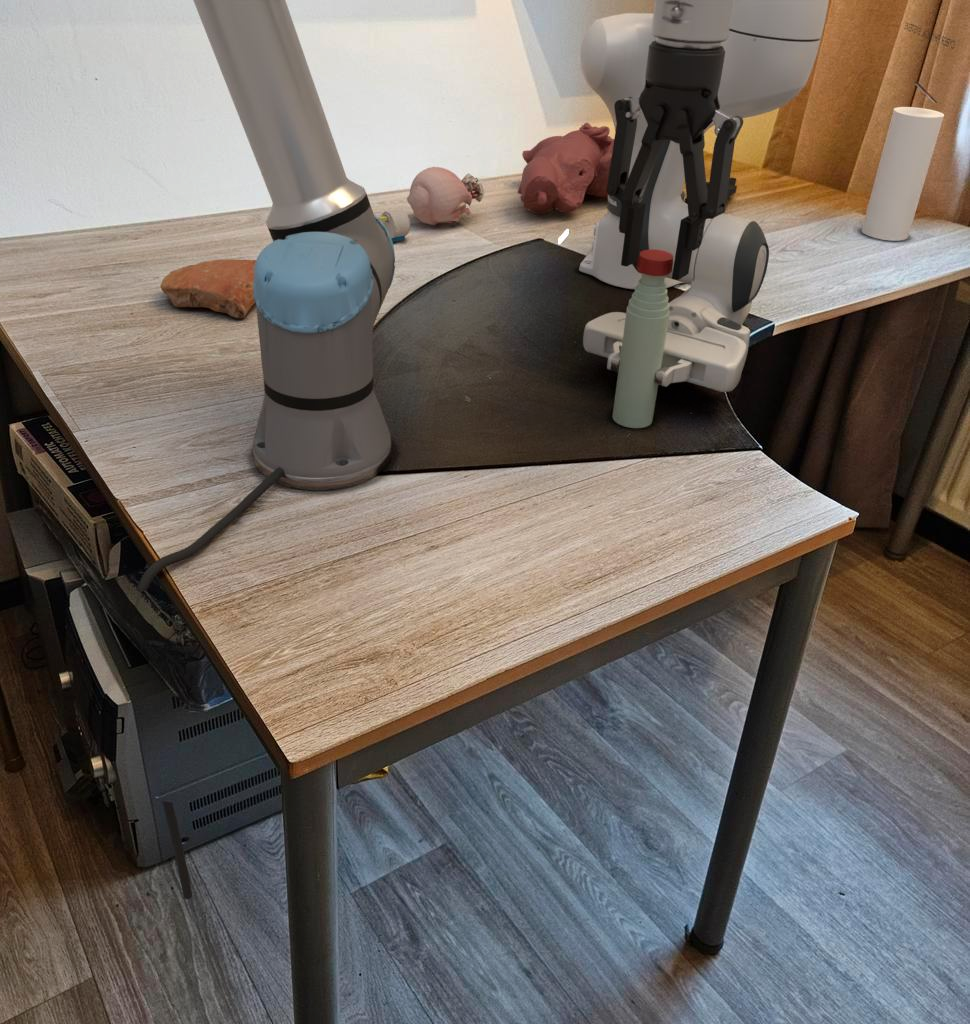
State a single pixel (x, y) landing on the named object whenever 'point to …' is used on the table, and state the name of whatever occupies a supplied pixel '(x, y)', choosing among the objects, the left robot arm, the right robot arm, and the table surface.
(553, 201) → the red pig head
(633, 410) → the bottle
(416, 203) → the toy
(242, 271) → the ceramic shard
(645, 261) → the cap
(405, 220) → the electric motor
